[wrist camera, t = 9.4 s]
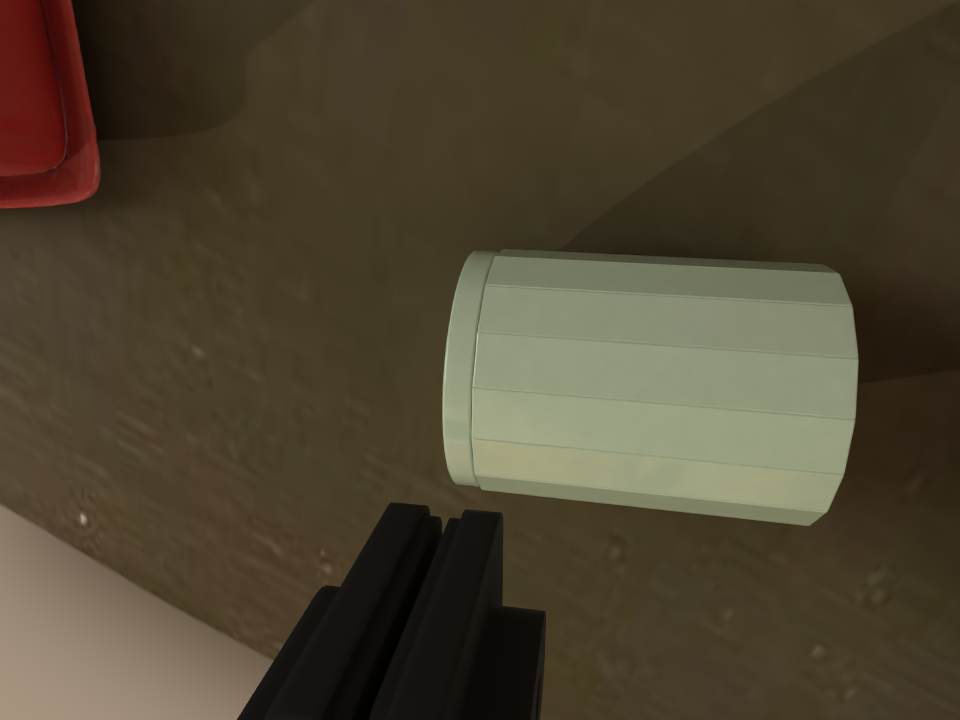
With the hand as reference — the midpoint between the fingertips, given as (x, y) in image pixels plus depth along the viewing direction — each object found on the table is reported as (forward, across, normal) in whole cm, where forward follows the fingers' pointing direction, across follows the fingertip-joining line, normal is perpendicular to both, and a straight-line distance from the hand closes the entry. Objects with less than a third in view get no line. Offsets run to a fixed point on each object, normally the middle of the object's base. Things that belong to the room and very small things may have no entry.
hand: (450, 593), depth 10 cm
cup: (+11, +2, 0) cm, 12 cm away
